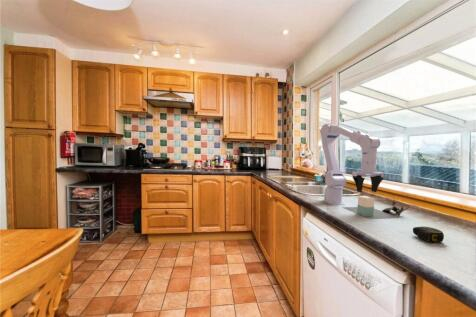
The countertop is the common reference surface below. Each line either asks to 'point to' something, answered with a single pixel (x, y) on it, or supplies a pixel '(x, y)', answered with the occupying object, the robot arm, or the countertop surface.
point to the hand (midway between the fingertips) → (366, 191)
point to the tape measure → (429, 234)
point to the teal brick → (365, 210)
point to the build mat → (376, 214)
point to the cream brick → (366, 201)
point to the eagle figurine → (395, 208)
